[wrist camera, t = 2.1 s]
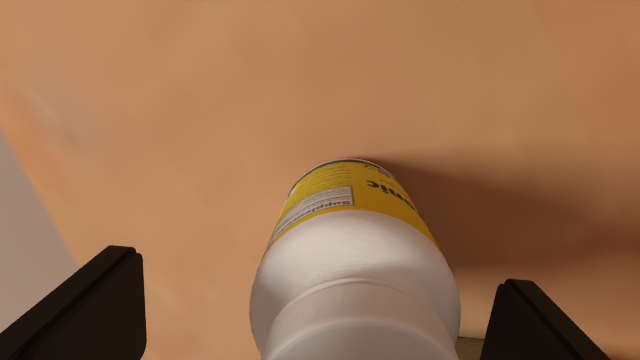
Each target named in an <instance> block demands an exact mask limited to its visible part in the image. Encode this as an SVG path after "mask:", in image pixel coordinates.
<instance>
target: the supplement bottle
mask: <svg viewBox="0 0 640 360" xmlns="http://www.w3.org/2000/svg"><path fill="white" fill-rule="evenodd" d="M249 315H250V324H251V329H252V333H253V336H254V340H255V343H256V345H257V348H258V350H259V352H260V354H261V356H262V357H261V360H459V359H458V356H457V354H456V351H455V348H454V346H455V343H456V340H457V337H458V333H459V327H460V319H461V306H460V298H459V293H458V288H457V285H456V282H455V279H454V277H453V274H452V272H451V270H450V268H449V266H448V264H447V262H446V260H445V258H444V256H443V254H442V252H441V251H440V249H439V247H438V246H437V244H436V242H435V240H434V238H433V237H432V235H431V233H430V231H429V230H428V228H427V226H426V225H425V223H424V221H423V220H422V218H421V216H420V215H419V213H418V211H417V210H416V208H415V206H414V205H413V203H412V201H411V199H410V198H409V196H408V195H407V193H406V191H405V190H404V188H403V187H402V185H401V184H400V183H399V182H398V181H397V179H396V178H395V177H394V176H393V175H392V174H391V173H389V172H388V171H387V170H385V169H384V168H382V167H380V166H378V165H376V164H374V163H372V162H369V161H366V160H362V159H356V158H341V159H335V160H330V161H327V162H324V163H322V164H319V165H317V166H316V167H314V168H312V169H311V170H309V171H308V172H306V173H305V174H304V175H303V176H302V177H301V178H300V179H299V180H298V181H297V182H296V184H295V185H294V186H293V188H292V189H291V191H290V193H289V195H288V197H287V199H286V201H285V204H284V206H283V209H282V211H281V214H280V216H279V219H278V221H277V224H276V226H275V229H274V231H273V234H272V236H271V238H270V241H269V243H268V246H267V248H266V251H265V253H264V255H263V258H262V260H261V263H260V265H259V267H258V270H257V274H256V277H255V280H254V283H253V286H252V291H251V297H250V307H249Z"/></svg>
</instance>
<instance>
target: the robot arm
mask: <svg viewBox="0 0 640 360" xmlns="http://www.w3.org/2000/svg"><path fill="white" fill-rule="evenodd" d="M146 342H147V337H146V317H145V297H144V277H143V259H142V255H141V254H140V253H136V250H135V248H133V247H124V246H113V245H110V246H108V247H106V248H105V249H104V250H103V251H101V252H100V253H99V254H98V255H96V256H95V257H94V258H93V259H92V260H90V261H89V262H88V263H87V264H85V265H84V266H83V267H82V268H80V269H79V270H78V271H77V272H75V273H74V274H73V275H72V276H71V277H69V278H68V279H67V280H66V281H64V282H63V283H62V284H61V285H59V286H58V287H57V288H56V289H55V290H53V291H52V292H51V293H49V294H48V295H47V296H46V297H45V298H43V299H42V300H41V301H40V302H38V303H37V304H36V305H35V306H33V307H32V308H31V309H30V310H28V311H27V312H26V313H25V314H24V315H22V316H21V317H20V318H19V319H17V320H16V321H15V322H14V323H12V324H11V325H10V326H9V327H8V328H6V329H5V330H4V331H3V332H1V333H0V360H140V359H141V357H142V356H143V354H144V351H145V348H146ZM480 360H611V359H610V358H609V357H608V356H607V355H606V354H605V353H604V352H603V351H602V350H601V349H600V348H599V347H598V346H597V345H596V344H595V343H594V342H593V341H592V340H591V339H590V338H589V337H588V336H587V335H586V334H585V333H584V332H583V331H582V330H581V329H580V328H579V327H578V326H577V325H576V324H575V323H574V322H573V321H572V320H571V319H570V318H569V317H568V316H567V315H566V314H565V313H564V312H563V311H562V310H561V309H560V308H559V307H558V306H557V305H556V304H555V303H554V302H553V301H552V300H551V299H550V298H549V297H548V296H547V295H546V294H545V293H544V292H543V291H542V290H541V289H540V288H539V287H538V286H537V285H536V284H535V283H534V282H533V281H529V280H517V279H507V280H506V281H505V282H504V284H500V285H499V286H498V288H497V292H496V296H495V300H494V304H493V308H492V312H491V316H490V320H489V324H488V328H487V332H486V336H485V340H484V344H483V348H482V352H481V356H480Z"/></svg>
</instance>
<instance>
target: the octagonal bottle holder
mask: <svg viewBox="0 0 640 360" xmlns="http://www.w3.org/2000/svg"><path fill="white" fill-rule="evenodd" d="M483 344H484V340H481V339H472V338H462V337H457V340H456V343H455V346H454V348H455V351H456V354H457V356H458V359H459V360H480V356H481V352H482V348H483Z"/></svg>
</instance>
